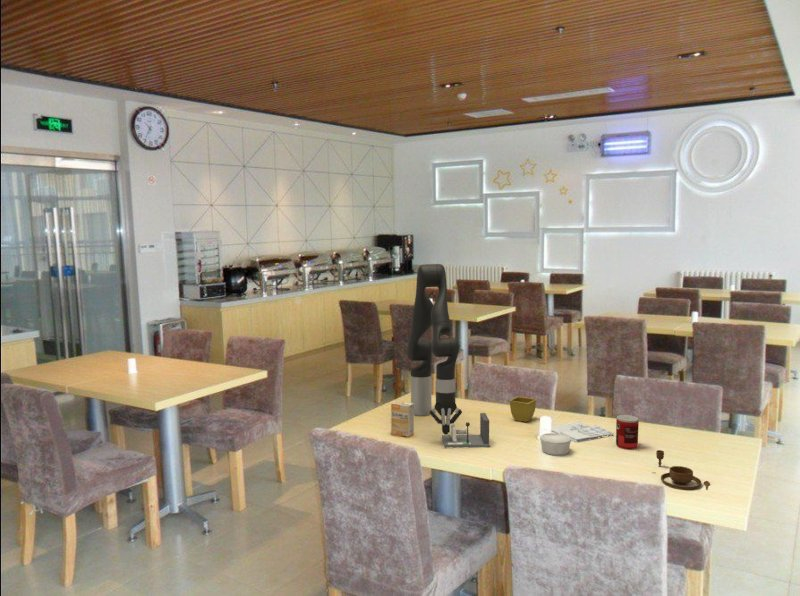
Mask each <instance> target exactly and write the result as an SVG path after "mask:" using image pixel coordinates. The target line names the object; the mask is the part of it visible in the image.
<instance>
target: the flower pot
mask: <svg viewBox="0 0 800 596" xmlns="http://www.w3.org/2000/svg"><path fill="white" fill-rule="evenodd" d="M536 406H537V398H531V397H524V396H516V397H514V398H512V399H510V400H509V407H510V413H511V415H512V418H513V419H514V421H516V420H518V421H517V422H522V421H524V423H526V421H527V422H529V421H530V420H532V418H533V417H534V415H535V412H536ZM528 420H529V421H528Z"/></svg>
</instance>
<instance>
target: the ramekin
mask: <svg viewBox="0 0 800 596" xmlns="http://www.w3.org/2000/svg"><path fill="white" fill-rule="evenodd" d="M539 440H540V445H541V450H542V451H543V453H545V454H548V455H550V456H551V455H552V456H565V455H566V454H567V453H569V451H570V447H571V442H572V441H571V438H570V437H569V436H567V435H563V434H557V433H554V432H550V433H544V434H541V435H540V436H539Z"/></svg>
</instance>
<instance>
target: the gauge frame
mask: <svg viewBox="0 0 800 596" xmlns="http://www.w3.org/2000/svg"><path fill="white" fill-rule="evenodd" d="M479 418H480V419H479V421H480V422H479V423H480V424H479V430H480V432H479V434H468V440H469V443H467V442H466V440H467V434H456V439H457V443H455V442H453V440H452V437H451V434H442V435H441V439H443V440H442V444H443V443H444V444H443V446H444V447H468V448H490V446H491V445H490V419H489V418H488V415H487V414H486V412H480V415H479Z"/></svg>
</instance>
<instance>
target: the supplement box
mask: <svg viewBox="0 0 800 596" xmlns="http://www.w3.org/2000/svg"><path fill="white" fill-rule="evenodd" d="M390 406H391V407H390V424H391V425H390V428H391V430H390V432H391V434H392V436H397V435H401V436H400V437H404V436H406V437H405V438H410V437H412V436H414V432H415V427H414V425H415V419H414V418H415V417H414V416H415V415H414V403H411V402H405V401H401V400H395V401H393V402H391V403H390ZM391 434H390V435H391ZM411 435H412V436H411Z"/></svg>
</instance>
